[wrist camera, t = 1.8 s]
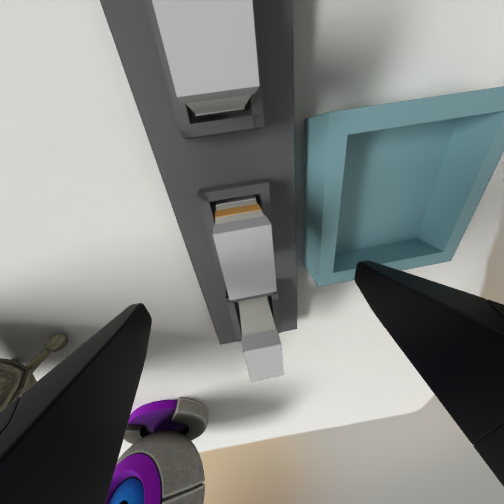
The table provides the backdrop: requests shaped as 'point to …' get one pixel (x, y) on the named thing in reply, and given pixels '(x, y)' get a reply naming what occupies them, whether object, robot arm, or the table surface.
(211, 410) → the table surface
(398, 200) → the tray
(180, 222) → the fuse holder
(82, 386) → the robot arm
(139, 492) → the webcam
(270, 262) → the marked fuse
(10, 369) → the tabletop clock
